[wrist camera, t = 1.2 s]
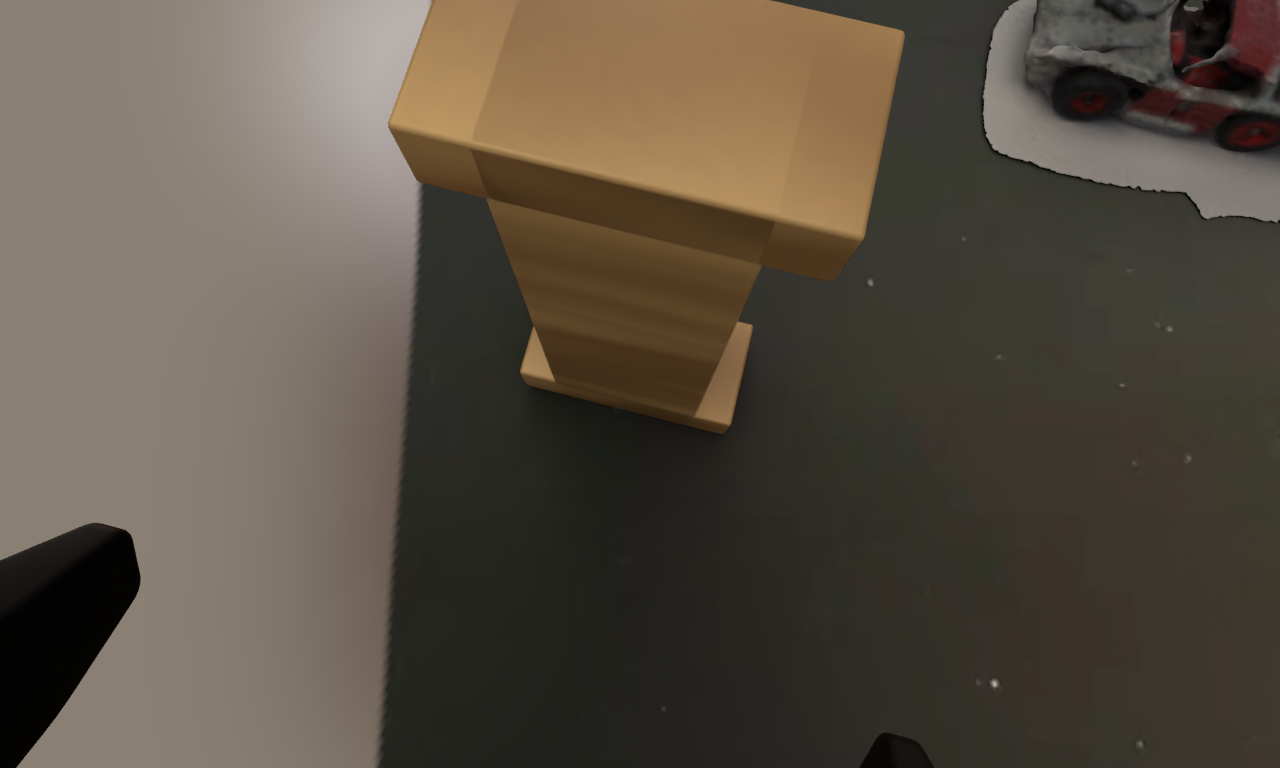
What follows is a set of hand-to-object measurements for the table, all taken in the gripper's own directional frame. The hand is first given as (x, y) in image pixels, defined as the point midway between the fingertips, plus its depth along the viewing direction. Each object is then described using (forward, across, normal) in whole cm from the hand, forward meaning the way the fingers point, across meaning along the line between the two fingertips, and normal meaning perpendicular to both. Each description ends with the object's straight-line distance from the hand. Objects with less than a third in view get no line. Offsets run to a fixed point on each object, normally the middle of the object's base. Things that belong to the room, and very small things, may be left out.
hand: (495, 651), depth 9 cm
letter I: (+14, 0, +4) cm, 15 cm away
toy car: (+23, -14, -5) cm, 28 cm away
